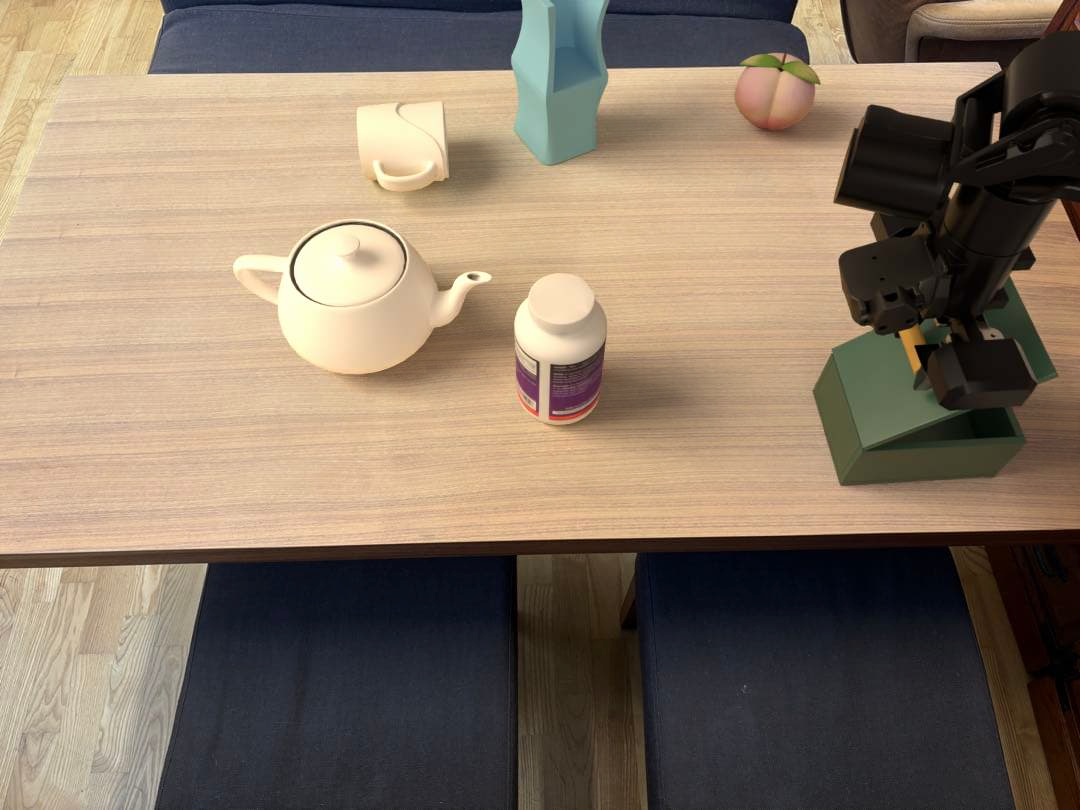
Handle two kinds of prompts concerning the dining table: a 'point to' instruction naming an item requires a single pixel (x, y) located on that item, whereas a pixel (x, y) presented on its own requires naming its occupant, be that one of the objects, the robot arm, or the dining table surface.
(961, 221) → the robot arm
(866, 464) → the tea tin
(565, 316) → the pill bottle
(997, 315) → the tin lid
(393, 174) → the mug
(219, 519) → the dining table surface
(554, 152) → the vase
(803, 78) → the decorative fruit
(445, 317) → the teapot
